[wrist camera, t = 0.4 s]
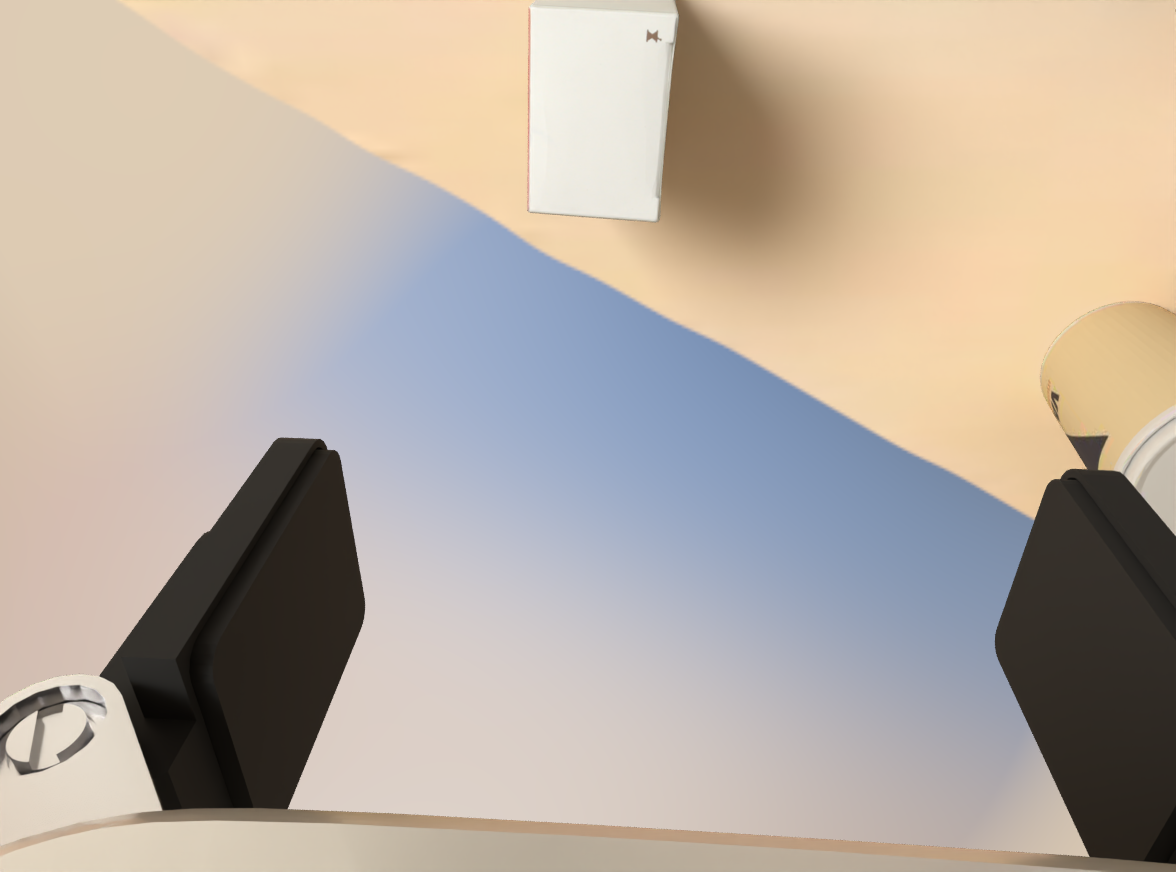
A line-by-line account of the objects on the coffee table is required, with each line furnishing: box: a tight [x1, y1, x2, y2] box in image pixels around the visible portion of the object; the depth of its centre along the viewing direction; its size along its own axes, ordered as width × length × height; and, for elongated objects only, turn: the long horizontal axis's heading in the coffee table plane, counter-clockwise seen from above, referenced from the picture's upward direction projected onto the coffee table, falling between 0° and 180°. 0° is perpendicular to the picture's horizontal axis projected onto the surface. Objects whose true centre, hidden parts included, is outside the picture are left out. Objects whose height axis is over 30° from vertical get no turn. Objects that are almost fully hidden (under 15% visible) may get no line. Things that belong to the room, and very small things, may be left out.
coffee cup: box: [1040, 302, 1176, 536], centre depth 43 cm, size 9×9×12 cm
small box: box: [527, 0, 679, 222], centre depth 37 cm, size 8×6×10 cm
